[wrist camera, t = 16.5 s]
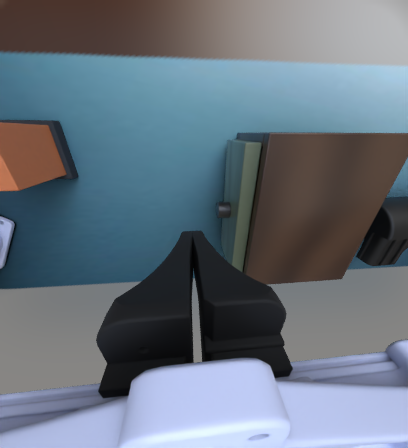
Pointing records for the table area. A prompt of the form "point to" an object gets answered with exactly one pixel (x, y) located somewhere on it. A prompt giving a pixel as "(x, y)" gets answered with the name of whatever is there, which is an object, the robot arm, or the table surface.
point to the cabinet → (317, 201)
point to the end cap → (386, 233)
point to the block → (27, 156)
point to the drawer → (238, 198)
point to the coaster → (59, 143)
